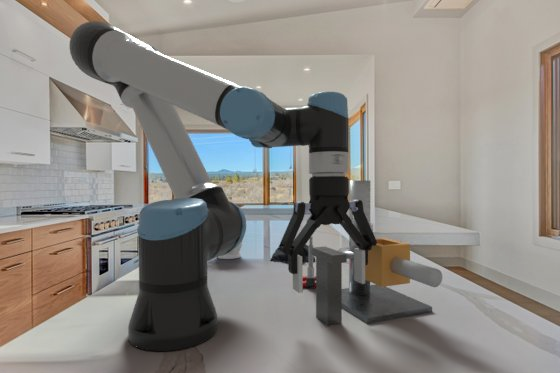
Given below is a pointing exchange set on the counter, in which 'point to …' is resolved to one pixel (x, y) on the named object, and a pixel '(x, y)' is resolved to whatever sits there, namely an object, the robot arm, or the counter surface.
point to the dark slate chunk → (283, 257)
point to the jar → (232, 253)
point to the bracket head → (397, 266)
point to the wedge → (329, 284)
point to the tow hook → (310, 269)
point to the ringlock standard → (364, 297)
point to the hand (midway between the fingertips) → (329, 286)
